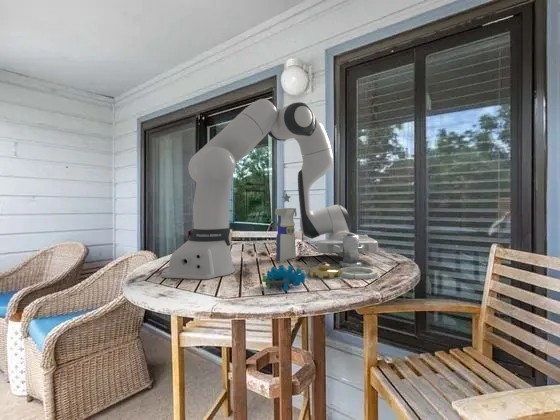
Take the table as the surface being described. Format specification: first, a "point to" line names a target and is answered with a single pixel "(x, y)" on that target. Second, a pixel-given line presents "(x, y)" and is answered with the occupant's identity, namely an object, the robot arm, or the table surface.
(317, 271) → the brass gear
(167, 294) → the table surface
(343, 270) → the seat ring
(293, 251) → the white piece
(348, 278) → the gear board
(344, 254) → the grey cylindrical peg
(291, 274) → the gear
